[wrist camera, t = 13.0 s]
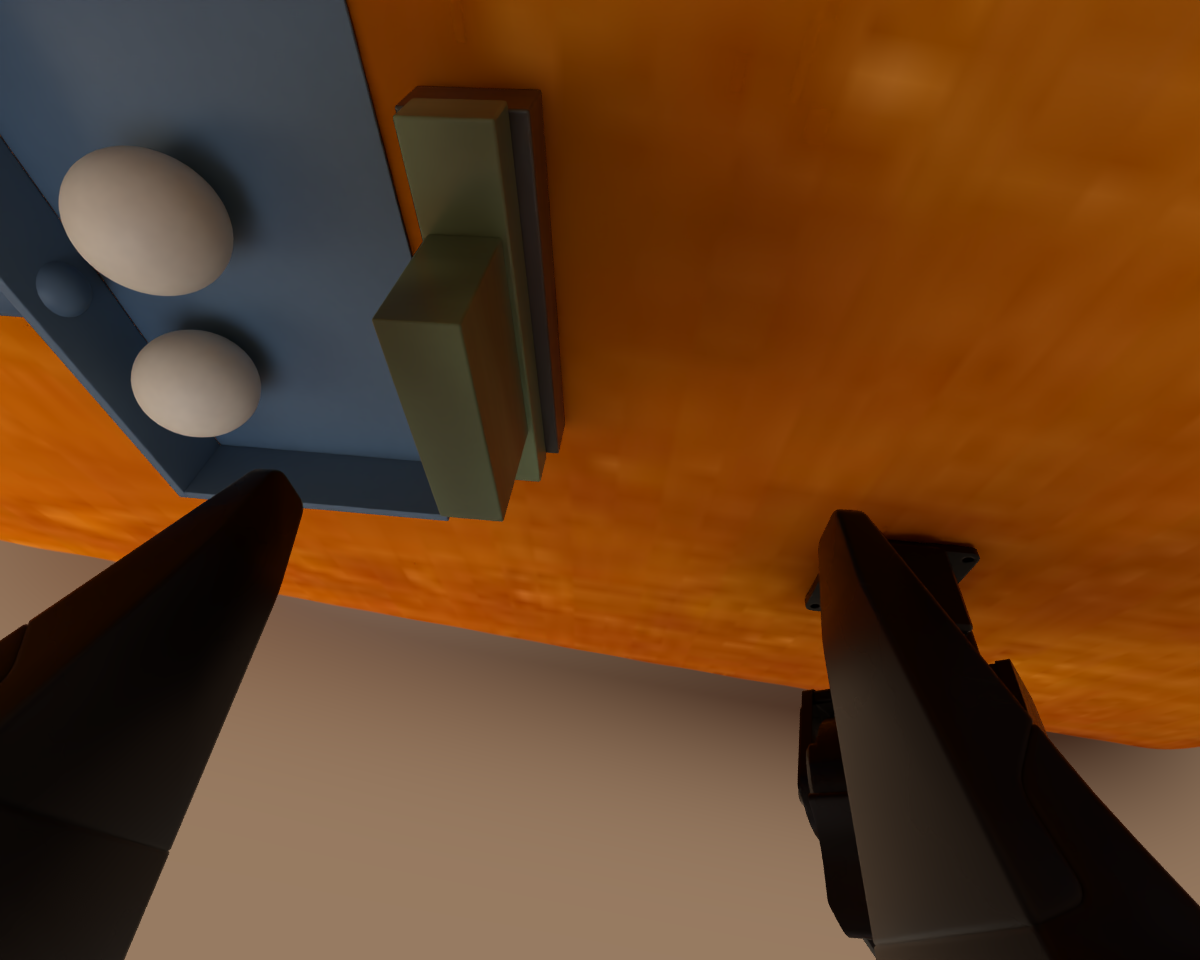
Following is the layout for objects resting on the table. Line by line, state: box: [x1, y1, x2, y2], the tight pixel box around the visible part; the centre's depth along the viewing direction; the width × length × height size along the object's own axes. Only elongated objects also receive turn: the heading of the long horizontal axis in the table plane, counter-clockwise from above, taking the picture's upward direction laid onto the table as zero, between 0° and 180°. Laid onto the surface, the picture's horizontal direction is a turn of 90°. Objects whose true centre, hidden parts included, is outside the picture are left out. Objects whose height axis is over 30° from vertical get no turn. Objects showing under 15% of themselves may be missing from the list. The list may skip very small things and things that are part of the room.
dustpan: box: [0, 0, 450, 521], centre depth 19 cm, size 22×19×3 cm
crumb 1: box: [59, 146, 233, 296], centre depth 17 cm, size 4×4×4 cm
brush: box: [372, 86, 565, 521], centre depth 17 cm, size 3×12×7 cm, turn 0°
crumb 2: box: [131, 330, 261, 437], centre depth 21 cm, size 4×4×4 cm
